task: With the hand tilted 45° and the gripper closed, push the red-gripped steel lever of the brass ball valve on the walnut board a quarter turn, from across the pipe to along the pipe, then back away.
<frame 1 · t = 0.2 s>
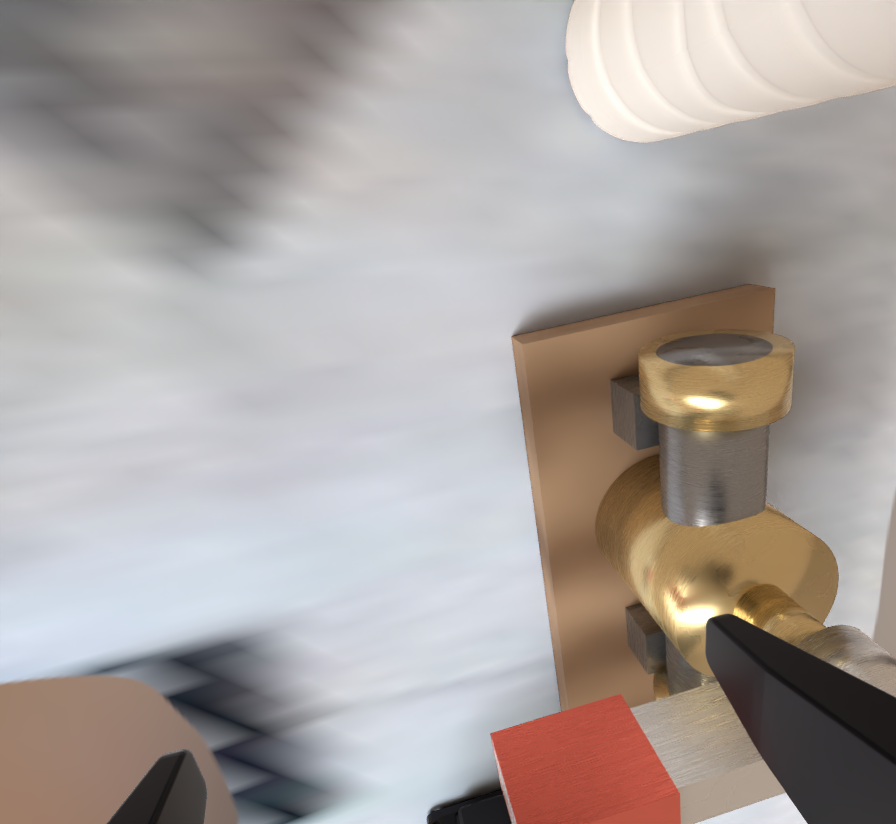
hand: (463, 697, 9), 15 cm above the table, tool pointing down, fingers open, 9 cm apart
water bottle: (645, 81, 21), on the table
valve body: (642, 499, 27), resting on valve board
valve board: (644, 529, 28), on the table
valve lever: (716, 744, 15), point 12 cm above the table, hinge at 0.0°
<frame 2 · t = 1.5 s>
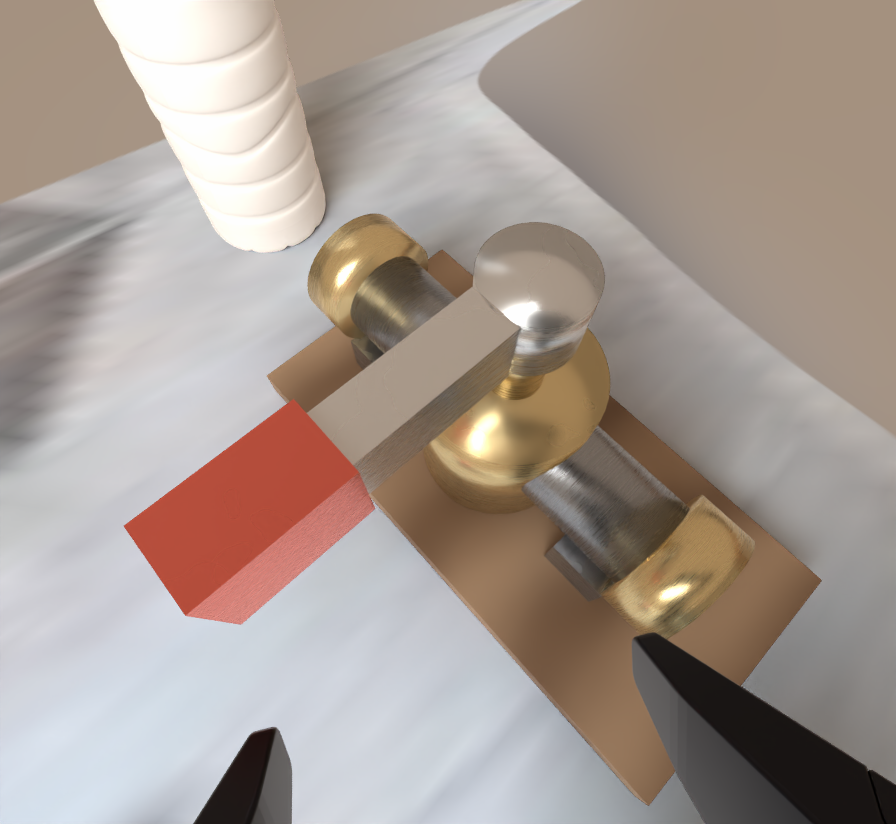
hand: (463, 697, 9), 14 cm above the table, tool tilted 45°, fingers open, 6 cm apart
water bottle: (283, 224, 31), on the table
valve body: (492, 454, 25), resting on valve board
valve board: (519, 480, 25), on the table
valve lever: (404, 404, 13), point 12 cm above the table, hinge at 0.0°
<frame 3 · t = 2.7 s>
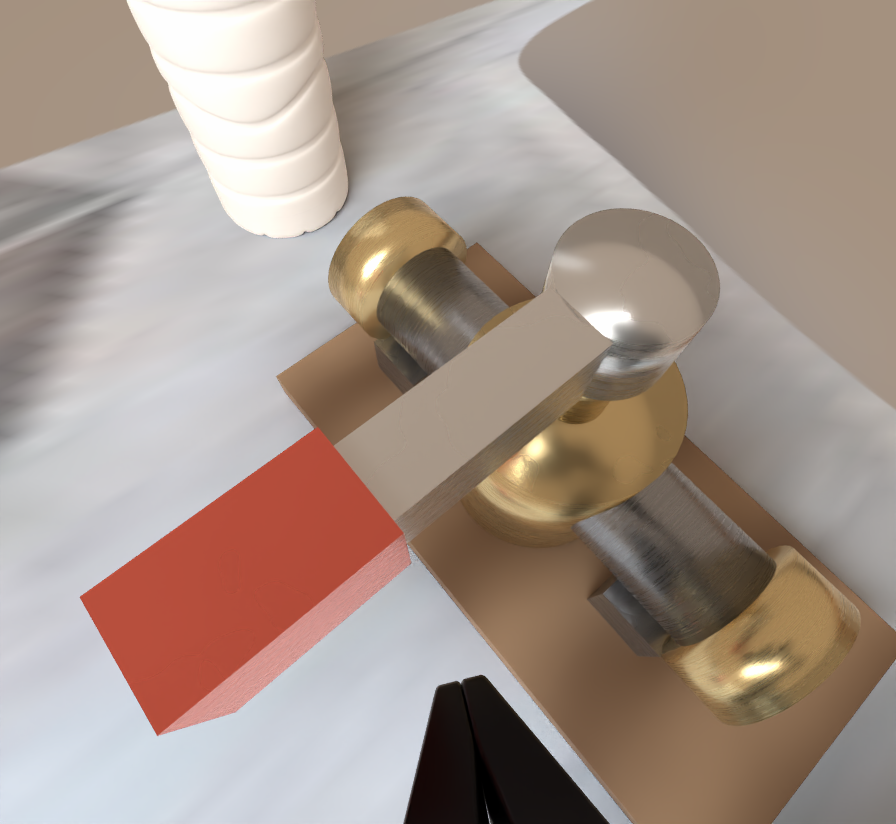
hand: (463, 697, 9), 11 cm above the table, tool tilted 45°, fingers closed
water bottle: (300, 207, 28), on the table
valve body: (527, 475, 23), resting on valve board
valve board: (557, 507, 22), on the table
valve lever: (456, 433, 10), point 12 cm above the table, hinge at 0.0°
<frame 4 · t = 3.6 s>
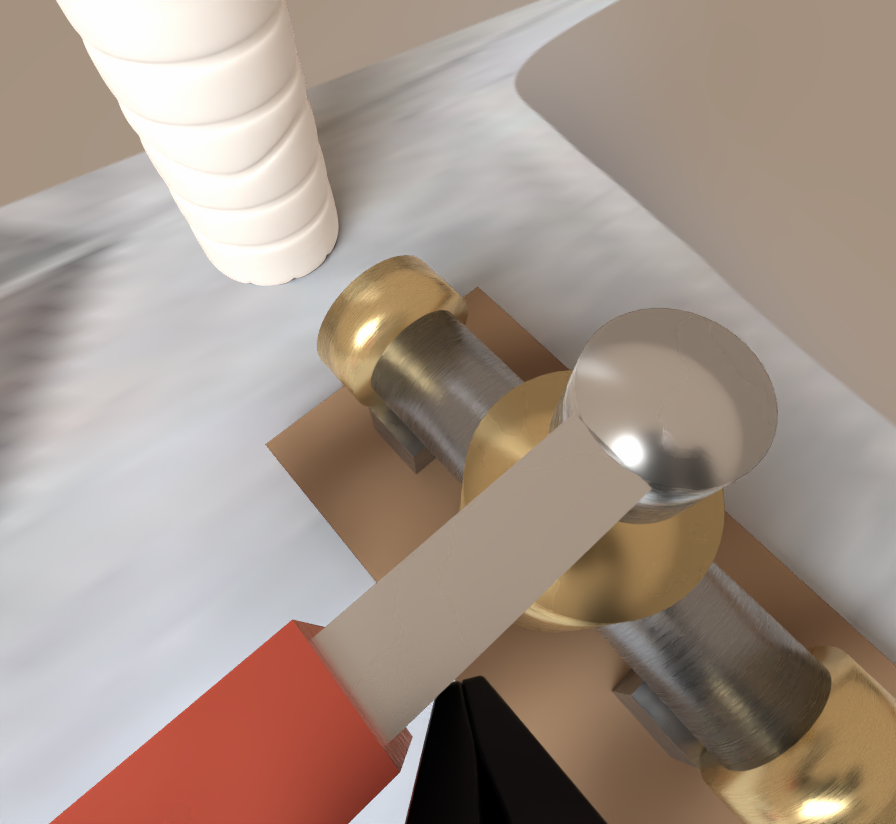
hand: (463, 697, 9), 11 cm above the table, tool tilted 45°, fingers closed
water bottle: (288, 250, 27), on the table
valve body: (539, 543, 21), resting on valve board
valve board: (573, 579, 20), on the table
valve lever: (464, 590, 9), point 12 cm above the table, hinge at 0.9°, touching gripper
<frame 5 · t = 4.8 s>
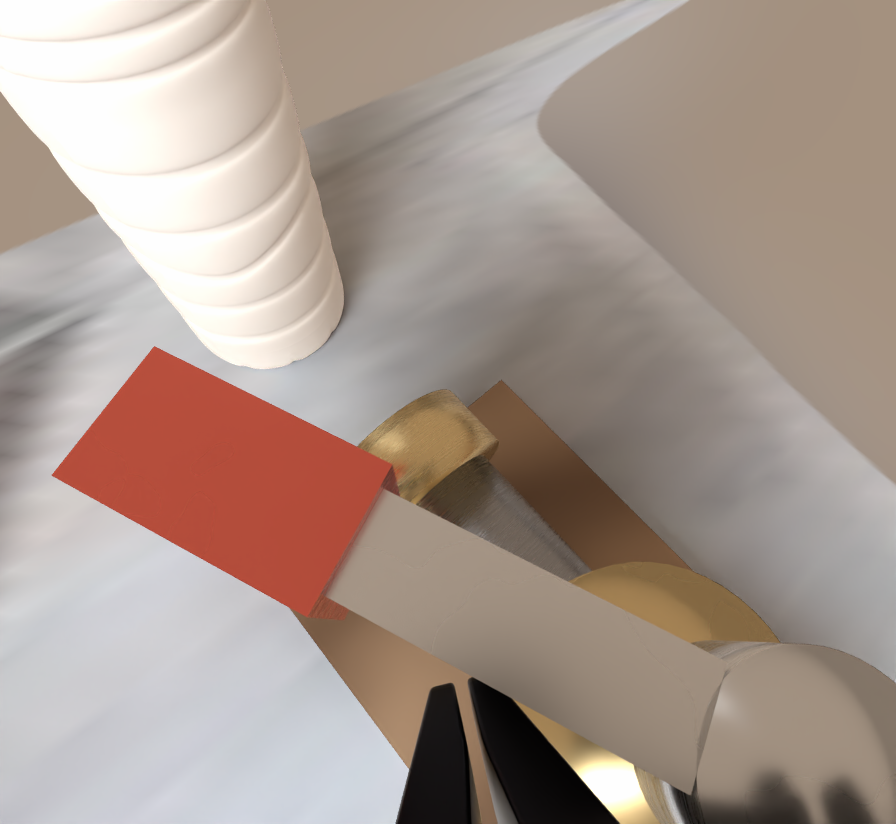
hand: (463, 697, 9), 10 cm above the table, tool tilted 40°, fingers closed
water bottle: (288, 324, 24), on the table
valve body: (571, 684, 19), resting on valve board
valve board: (609, 727, 18), on the table
valve lever: (484, 614, 8), point 12 cm above the table, hinge at 68.2°, touching gripper
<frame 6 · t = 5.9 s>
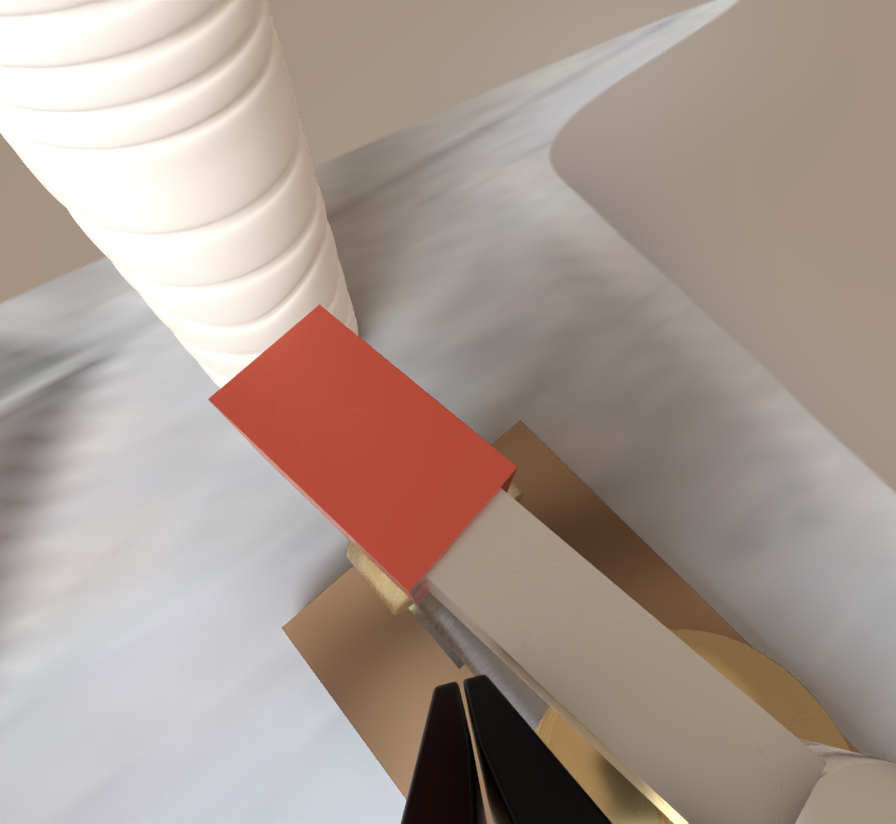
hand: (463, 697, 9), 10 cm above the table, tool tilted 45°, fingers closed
water bottle: (302, 363, 24), on the table
valve body: (599, 740, 18), resting on valve board
valve board: (640, 787, 18), on the table
valve lever: (566, 639, 8), point 12 cm above the table, hinge at 83.6°, touching gripper
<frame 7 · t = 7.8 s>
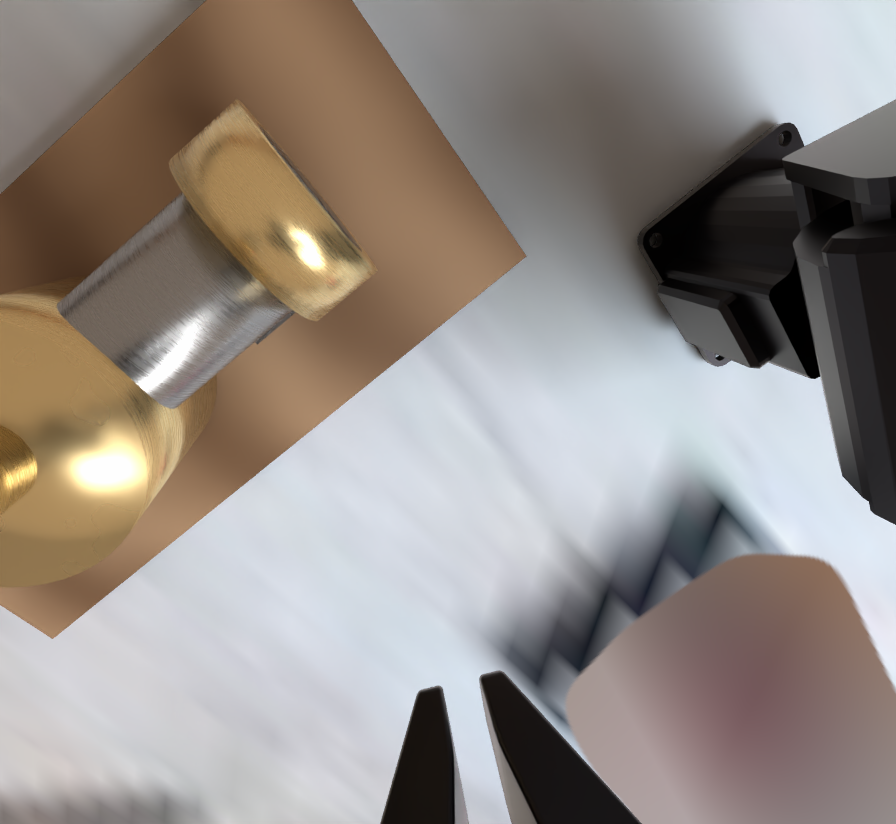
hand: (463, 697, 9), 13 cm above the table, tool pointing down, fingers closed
valve body: (130, 364, 19), resting on valve board
valve board: (167, 332, 19), on the table
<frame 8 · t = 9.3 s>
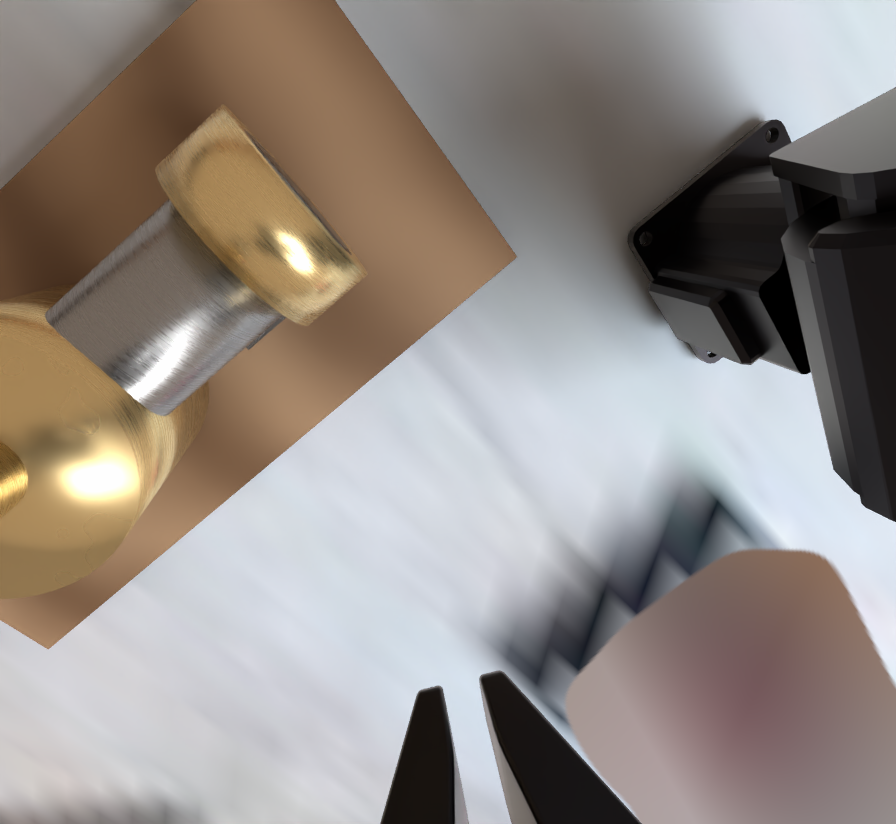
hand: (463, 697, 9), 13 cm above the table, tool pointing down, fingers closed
valve body: (122, 371, 19), resting on valve board
valve board: (158, 339, 19), on the table
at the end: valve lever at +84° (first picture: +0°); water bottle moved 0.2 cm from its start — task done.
